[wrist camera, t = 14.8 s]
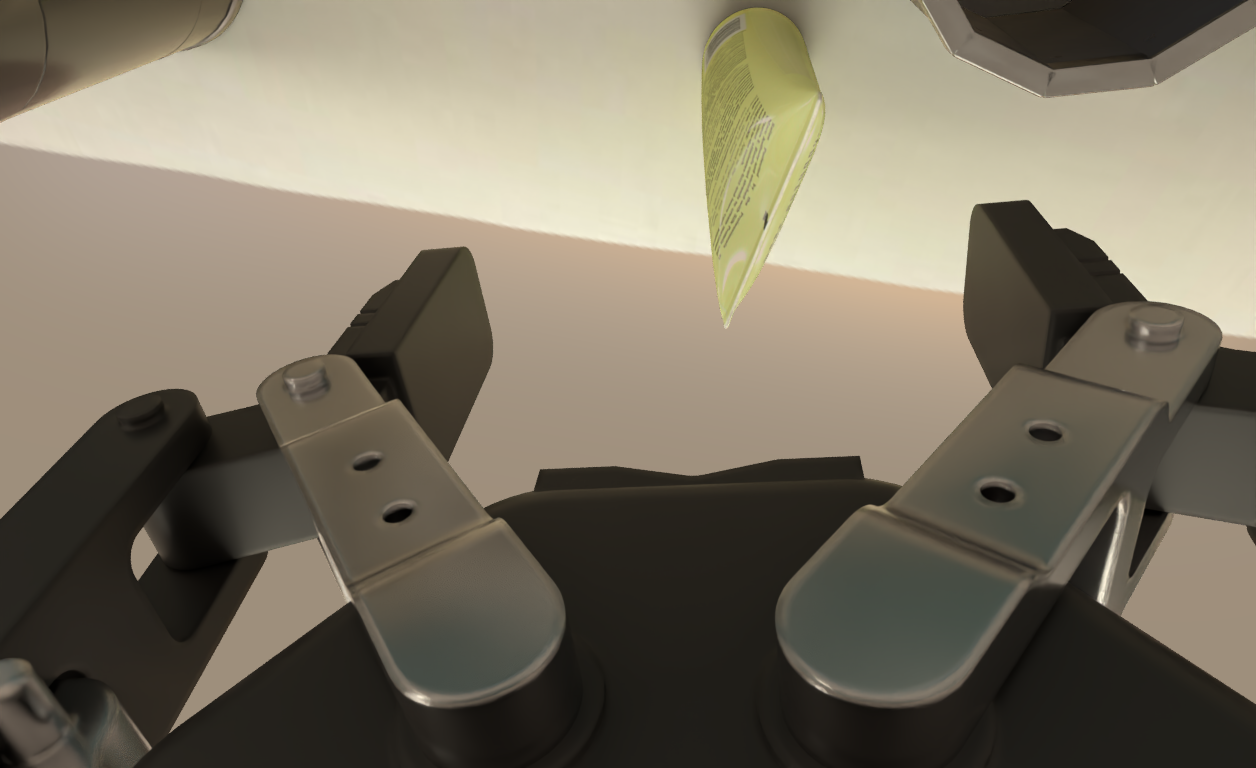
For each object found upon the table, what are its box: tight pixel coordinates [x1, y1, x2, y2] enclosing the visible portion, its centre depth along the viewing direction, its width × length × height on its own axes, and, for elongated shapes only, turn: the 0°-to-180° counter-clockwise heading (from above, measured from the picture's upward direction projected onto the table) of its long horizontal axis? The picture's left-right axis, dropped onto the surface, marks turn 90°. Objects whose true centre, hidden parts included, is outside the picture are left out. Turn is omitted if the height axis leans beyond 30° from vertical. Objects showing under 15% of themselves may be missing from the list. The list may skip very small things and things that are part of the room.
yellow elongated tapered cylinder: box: [702, 8, 825, 329], centre depth 33 cm, size 6×5×20 cm
